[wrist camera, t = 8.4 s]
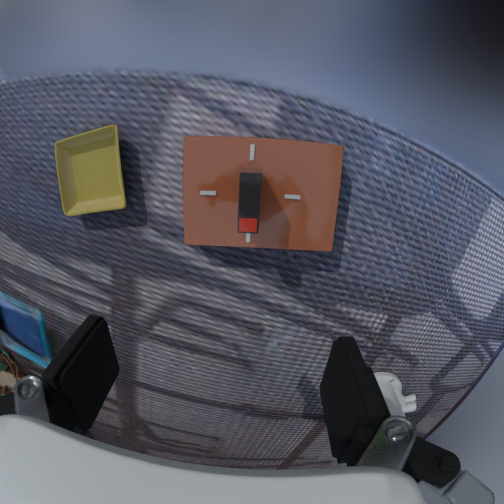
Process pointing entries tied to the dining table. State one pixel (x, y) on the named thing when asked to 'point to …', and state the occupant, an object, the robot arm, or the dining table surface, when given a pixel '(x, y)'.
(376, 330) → the dining table surface
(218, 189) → the panel
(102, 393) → the robot arm
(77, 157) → the yellow square tray
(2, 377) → the book
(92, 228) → the dining table surface
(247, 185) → the black block red end
